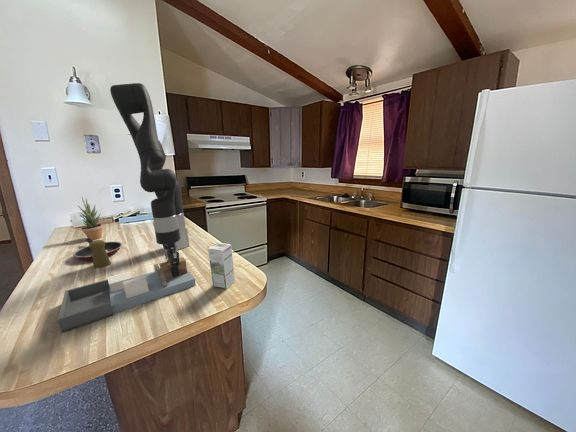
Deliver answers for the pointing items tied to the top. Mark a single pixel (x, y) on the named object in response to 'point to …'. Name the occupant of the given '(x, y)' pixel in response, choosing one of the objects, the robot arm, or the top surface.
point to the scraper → (169, 270)
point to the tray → (85, 305)
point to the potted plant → (91, 223)
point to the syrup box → (221, 265)
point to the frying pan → (87, 252)
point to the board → (150, 290)
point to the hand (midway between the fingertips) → (174, 273)
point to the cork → (99, 254)
